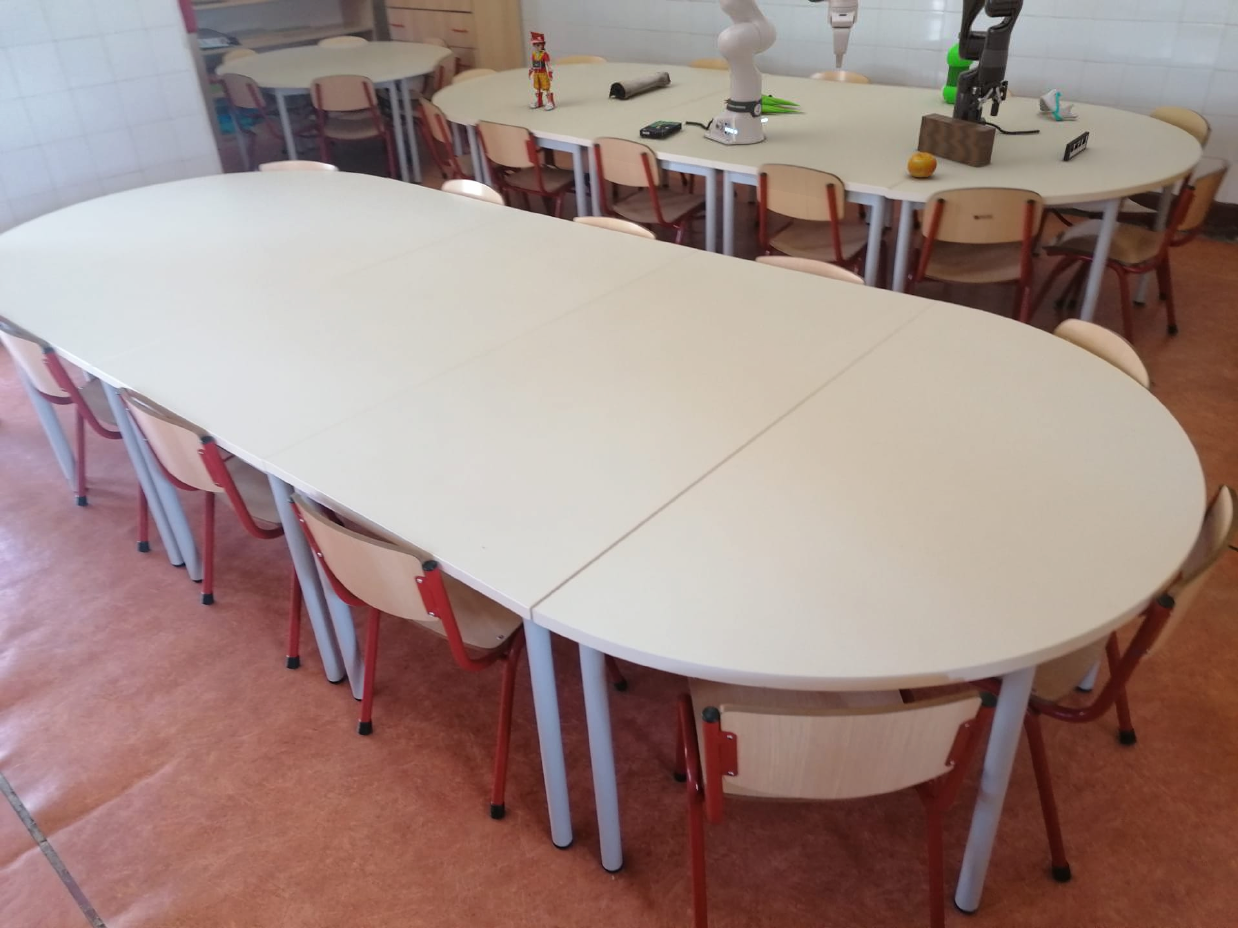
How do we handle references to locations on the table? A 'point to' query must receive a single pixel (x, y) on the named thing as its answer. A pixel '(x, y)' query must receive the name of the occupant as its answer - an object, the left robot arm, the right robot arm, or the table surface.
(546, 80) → the toy
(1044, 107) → the white and teal piece
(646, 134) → the disk drive
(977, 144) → the box
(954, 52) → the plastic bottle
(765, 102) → the toy
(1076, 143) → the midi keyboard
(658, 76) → the rolled mat
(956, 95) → the right robot arm
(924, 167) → the fruit
